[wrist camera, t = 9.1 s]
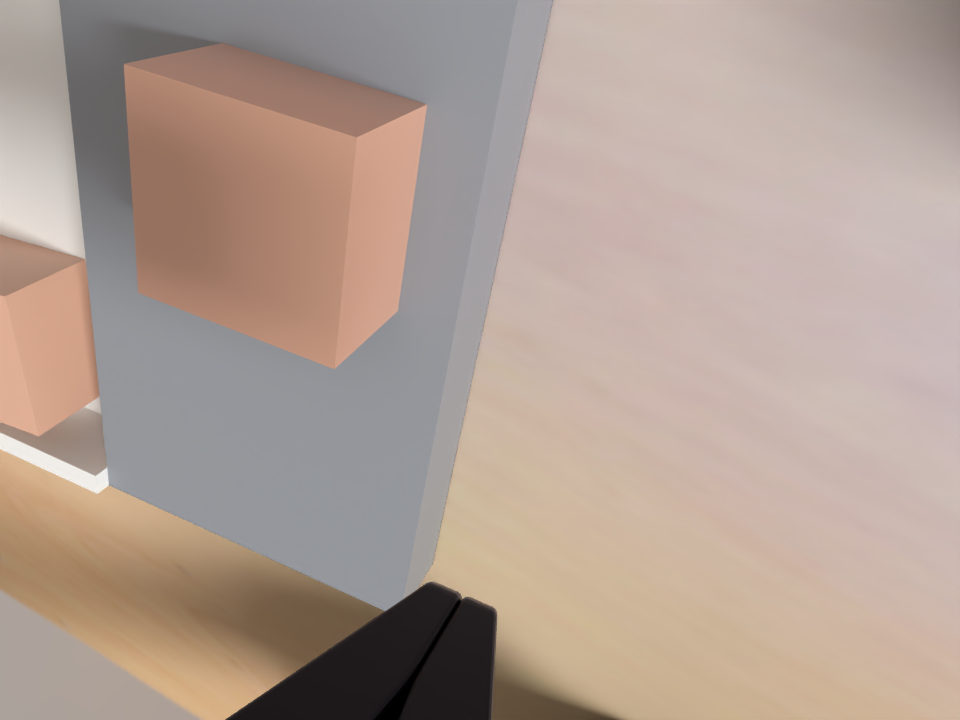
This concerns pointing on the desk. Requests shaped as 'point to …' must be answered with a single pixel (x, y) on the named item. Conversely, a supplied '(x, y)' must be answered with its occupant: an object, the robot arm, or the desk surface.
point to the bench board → (274, 371)
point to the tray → (43, 205)
